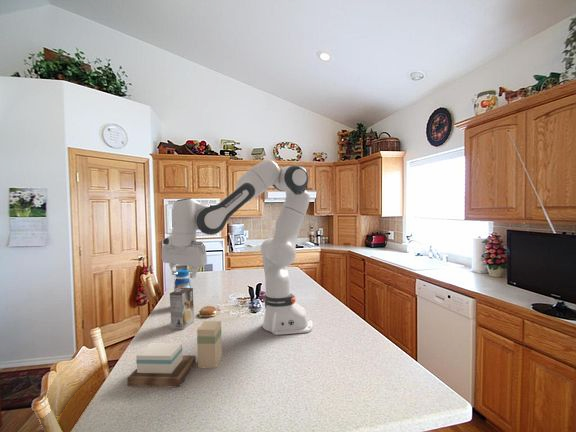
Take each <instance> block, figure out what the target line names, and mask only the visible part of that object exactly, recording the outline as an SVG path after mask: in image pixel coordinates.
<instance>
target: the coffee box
mask: <svg viewBox="0 0 576 432" xmlns="http://www.w3.org/2000/svg"><path fill="white" fill-rule="evenodd" d="M169 303H170V304H169V306H170V310H169V311H170V328H171V329H172V330H173V329H174V330H175V329H176V330H185V329H186V328H187V327H188V326H190V325H191V324H192V323H193V322H195V312H194V311H195V309H194V304H195V303H194V288H193V287H191V288H179V289H177V290H173V291H172V292H170V293H169Z"/></svg>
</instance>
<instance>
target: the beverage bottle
mask: <svg viewBox="0 0 576 432" xmlns="http://www.w3.org/2000/svg"><path fill="white" fill-rule="evenodd" d="M177 270H178V274H177V275H174V276H175V277H176V278H175V280H174V283H173V284H174V288H173V291H175V290H177V289H179V288H192V285H191V280H190V279H191V278H190V273H189V272H190V271H189V269H187V268H180V269H177Z"/></svg>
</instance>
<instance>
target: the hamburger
mask: <svg viewBox="0 0 576 432" xmlns="http://www.w3.org/2000/svg"><path fill="white" fill-rule="evenodd" d="M218 312H221V309H220V308H218V307H217V308H215V307H214V306H212V305H206V306H203V307H202V308H201V309H199V311H198V316H199V318H211V317H216V316H217V313H218Z"/></svg>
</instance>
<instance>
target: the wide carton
mask: <svg viewBox="0 0 576 432" xmlns="http://www.w3.org/2000/svg"><path fill="white" fill-rule="evenodd" d="M182 355H183V342H182V343H181V342H179V343H178V342H167V343H166V342H150V343H149V344H147V345H146V346H145V347H144V348H143V349H142V350H141V351H139V352H138V353H137V354H136V357H135V358H136V360H135V361H136V362H135V363H136V369H137V373H172V372H173V371H174V370H175V368H176V367H177V366H178V364H179V363H180V362H181V361H182V359H183V358H182Z"/></svg>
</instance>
